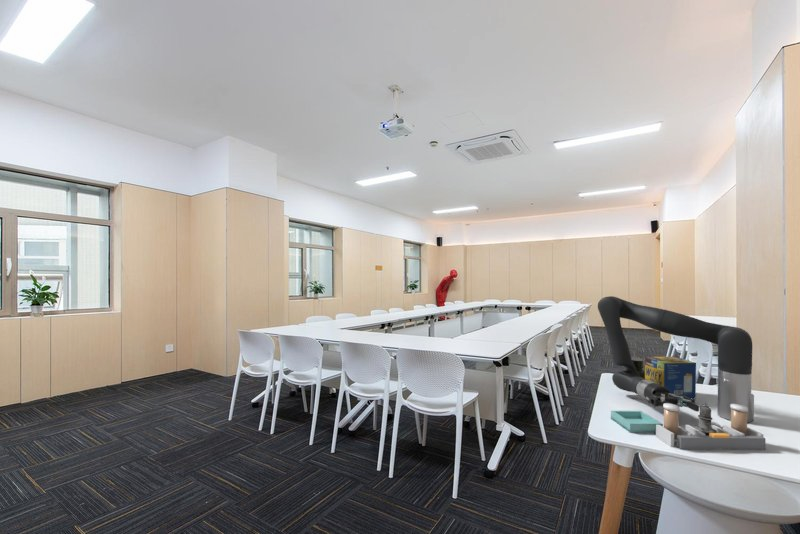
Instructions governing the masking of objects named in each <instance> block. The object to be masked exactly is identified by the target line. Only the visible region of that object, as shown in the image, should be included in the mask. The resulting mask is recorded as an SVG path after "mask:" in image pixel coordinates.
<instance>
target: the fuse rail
mask: <svg viewBox="0 0 800 534" xmlns="http://www.w3.org/2000/svg"><path fill="white" fill-rule="evenodd" d="M711 426H712V428H713V429H715V430H716V431H717V433H709V436H705V434H704V433H703V432H701V431H699V430H697V429H695V428H694V427H693V426H691V425H690V424H685V428H683V427H682V426H679V425H678V435H677V443H676V447H677V448H678V447H679V448H678V449H680V450H731V449H740V450H742V451H745V450H746V451H747V450H749V451H750V450H751V451H754V450H757V451H759V450H761V451H765V450H766V438H765V437H764V434H763V433H762V432H759V431H756V430H755V429H752V428H751V427H748V426H747V436H745V434H743V433H741V432H739V431H737V430H735V429H733V428H731V426H729V425H726V424H723V425H722V428H721V427H719V426H717V425H714V424H711ZM654 434H655V437H656V438H657V439H658V440H660V441H662V442H663V443H665V444H667V445H668V446H669V447H670V448H672V447H675V443H674V433H672V432H671V431H669V430H667V429H666V428H664V426H663V427H662V426H661V425H656V430H655V433H654Z"/></svg>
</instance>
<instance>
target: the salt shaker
mask: <svg viewBox="0 0 800 534" xmlns="http://www.w3.org/2000/svg"><path fill="white" fill-rule="evenodd" d="M697 417H698V424H695V425H693V426H692V427H693V428H695V429H697V430H699V431H701V432H703V433H704V434H705V436H709V433H717V431H716V430H715V429H713V428H712V426H711V425H712V420H713V419H714V418H713V417H712V409H711V407H710V406H708V405H707V403H706V402H704V404H702V405H700V406H699V414H698V415H697Z"/></svg>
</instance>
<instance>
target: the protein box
mask: <svg viewBox="0 0 800 534" xmlns="http://www.w3.org/2000/svg"><path fill="white" fill-rule="evenodd" d="M644 370H645V379H646V380H649V381H652V382H655V383H657V384H659V385H661V386H663V387H665V388H667V389H668V390H669V392H670V393H671V394H674V395H676V396H680V395H684V396H686V397H689V398H692V399H693V400H695V399H696V391H697V389H696V385H697V373H696V372H697V362H695V361H691V360H688V359H685V358H683V357H682V358H681V357H678V356H645V358H644ZM694 398H695V399H694Z"/></svg>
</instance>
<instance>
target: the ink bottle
mask: <svg viewBox="0 0 800 534" xmlns="http://www.w3.org/2000/svg"><path fill="white" fill-rule="evenodd" d="M631 359H632V362H633V364H634V366H635V368H636V370H637V371H638V373H639V375H640V377H642V378H644V379H645V359H643V358H640V357H639V358H638V357H633V356H631ZM623 371H626V368H625V367H624V370H623Z"/></svg>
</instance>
